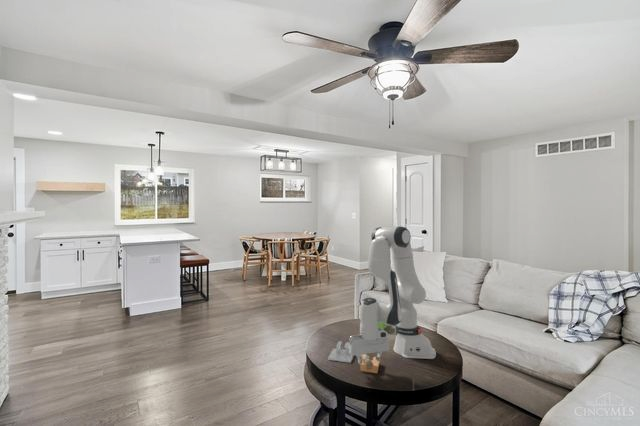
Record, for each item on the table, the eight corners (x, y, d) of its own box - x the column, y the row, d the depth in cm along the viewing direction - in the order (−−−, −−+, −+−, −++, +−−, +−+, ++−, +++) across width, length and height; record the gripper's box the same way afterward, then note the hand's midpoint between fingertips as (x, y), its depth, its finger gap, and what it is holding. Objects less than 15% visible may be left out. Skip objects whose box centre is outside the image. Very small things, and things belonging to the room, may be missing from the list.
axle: (360, 356, 166) (357, 351, 166) (365, 352, 166) (362, 347, 166) (368, 369, 152) (365, 363, 152) (374, 365, 153) (370, 359, 152)
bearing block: (354, 354, 176) (354, 343, 176) (350, 364, 164) (350, 352, 164) (333, 351, 179) (333, 340, 179) (328, 361, 168) (328, 349, 168)
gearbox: (381, 336, 202) (381, 321, 202) (366, 333, 207) (366, 318, 207) (390, 327, 218) (390, 313, 218) (376, 325, 223) (376, 311, 223)
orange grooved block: (379, 365, 163) (379, 357, 163) (377, 374, 154) (377, 366, 154) (363, 363, 166) (363, 355, 166) (360, 372, 156) (360, 364, 156)
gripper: (351, 337, 149) (351, 367, 149) (390, 332, 156) (390, 361, 156) (346, 333, 155) (346, 361, 155) (384, 328, 162) (384, 356, 162)
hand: (369, 361), depth 155 cm, fingers open, 8 cm apart
